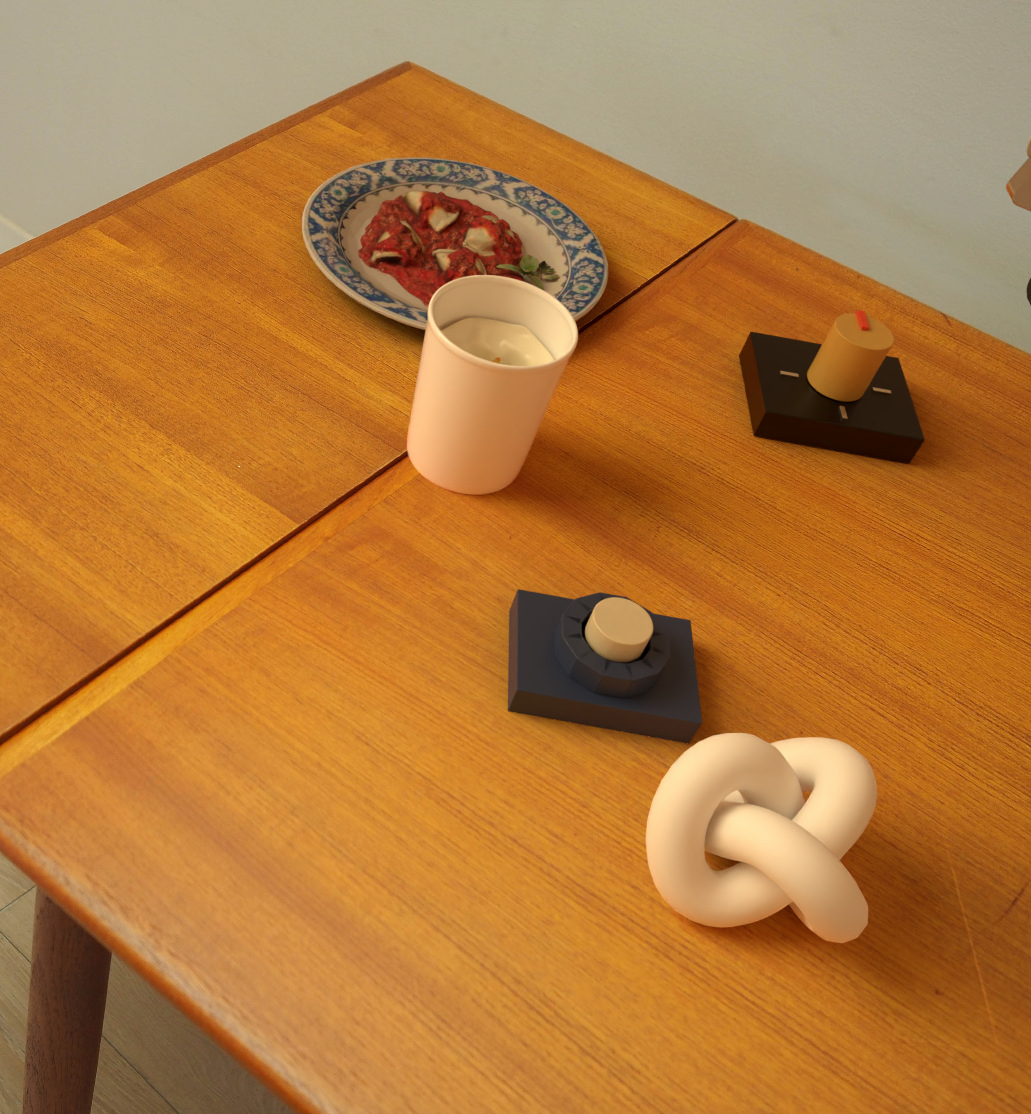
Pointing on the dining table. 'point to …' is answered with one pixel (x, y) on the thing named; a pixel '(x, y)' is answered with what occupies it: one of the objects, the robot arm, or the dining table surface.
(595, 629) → the bell button
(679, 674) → the push button box
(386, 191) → the ceramic plate
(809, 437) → the black dial base
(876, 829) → the dining table surface
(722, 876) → the white knot sculpture
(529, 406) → the candle holder
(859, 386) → the lock knob
